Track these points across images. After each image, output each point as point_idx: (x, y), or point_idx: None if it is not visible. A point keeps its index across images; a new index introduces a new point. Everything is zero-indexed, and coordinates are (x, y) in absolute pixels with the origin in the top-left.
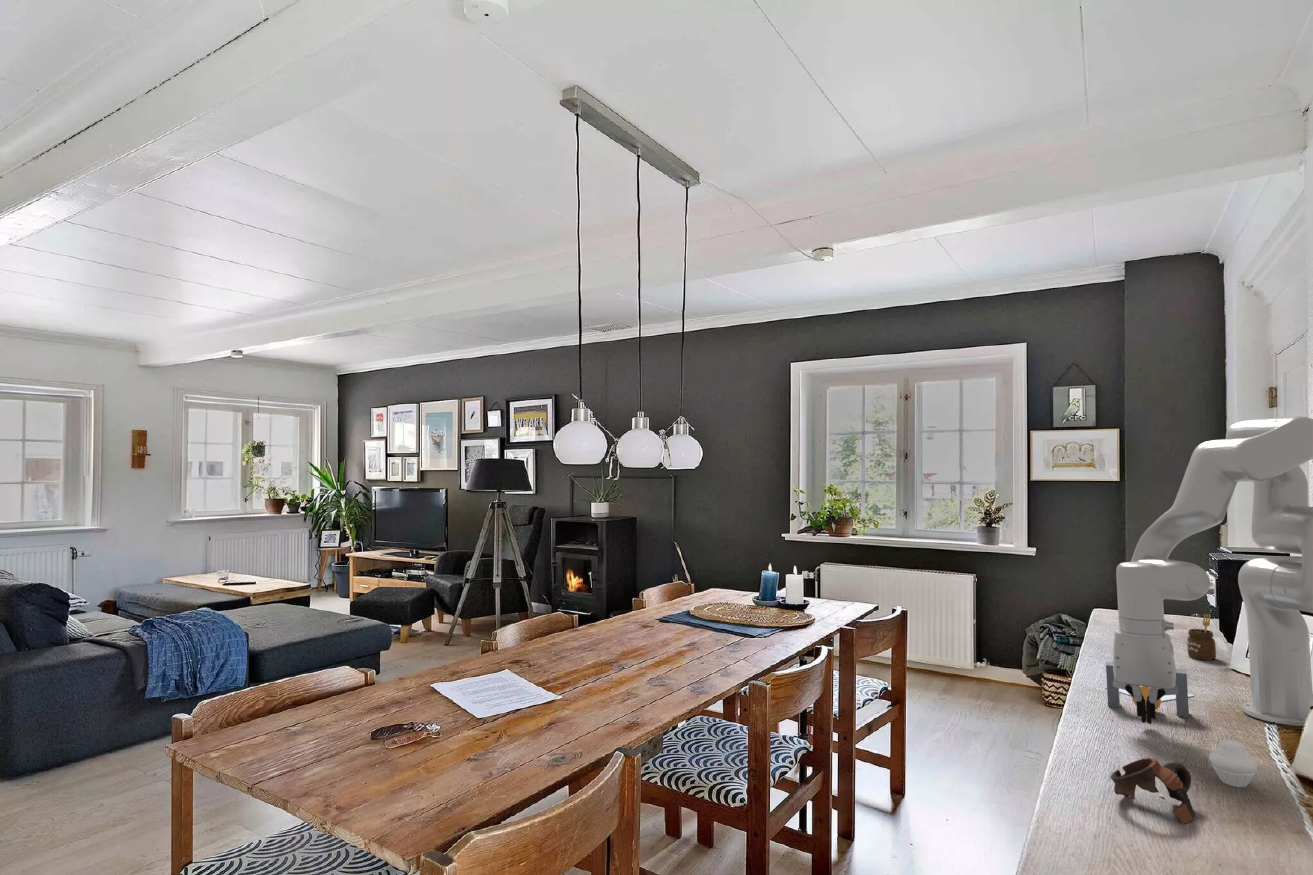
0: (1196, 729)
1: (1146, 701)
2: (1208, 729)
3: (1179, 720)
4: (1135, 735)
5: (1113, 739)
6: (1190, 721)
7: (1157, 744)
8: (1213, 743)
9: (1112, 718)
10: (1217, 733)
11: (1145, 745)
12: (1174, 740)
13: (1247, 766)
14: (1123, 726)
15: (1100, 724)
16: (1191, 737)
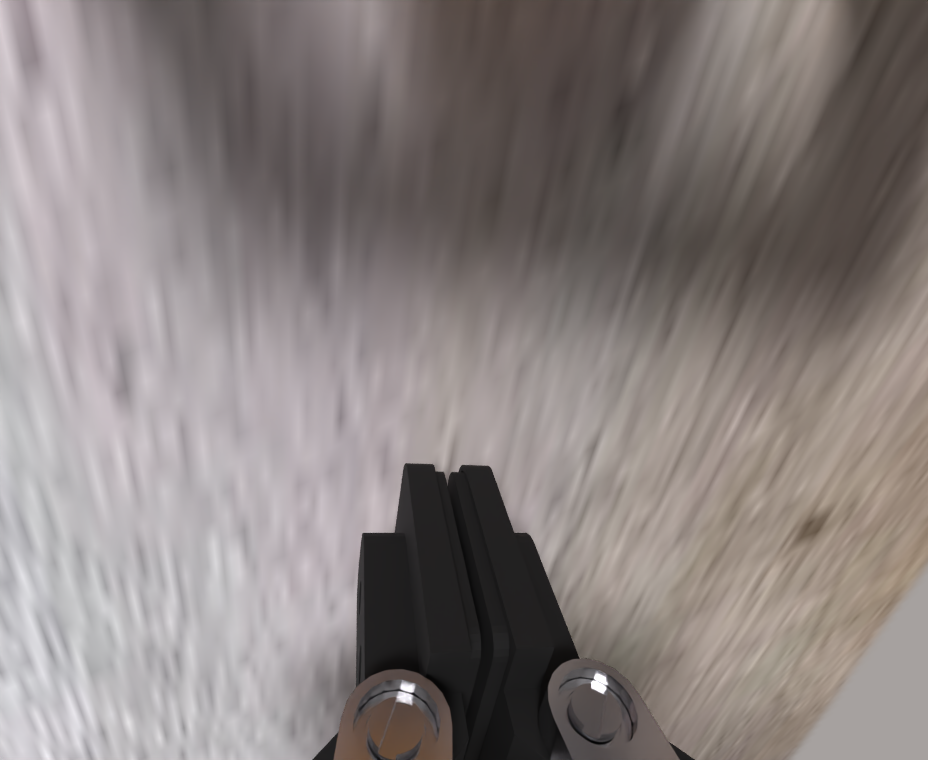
0: (802, 327)
1: (478, 728)
2: (895, 289)
3: (790, 86)
4: (333, 628)
5: (200, 738)
6: (881, 82)
7: None
8: (760, 558)
9: (113, 296)
10: (900, 363)
11: None
12: None
13: None
14: (244, 491)
15: (45, 523)
16: (681, 515)
